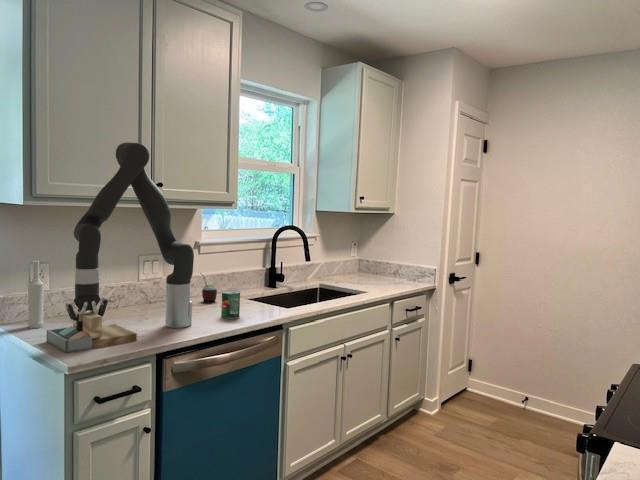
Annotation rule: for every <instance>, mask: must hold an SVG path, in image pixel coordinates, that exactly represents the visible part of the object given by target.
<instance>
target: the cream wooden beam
mask: <svg viewBox="0 0 640 480" xmlns="http://www.w3.org/2000/svg"><path fill="white" fill-rule="evenodd" d="M74 313H75V315H77V309H76V310H74ZM82 322H83V332H84V333H86V334H87V335H88V337H89V336H92V339H93V338H98V337H102V326H103V316H100V315H97V314H94V313H91V312H90V310H88V311H85V314H84V315H83V319H82ZM72 323H73V324H72V325H73V326H72V327H74V328H76V321H74V320H72ZM77 331H78V330H77ZM78 333H79V331H78Z"/></svg>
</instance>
